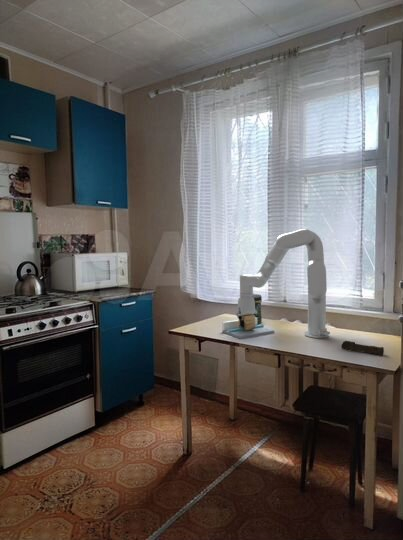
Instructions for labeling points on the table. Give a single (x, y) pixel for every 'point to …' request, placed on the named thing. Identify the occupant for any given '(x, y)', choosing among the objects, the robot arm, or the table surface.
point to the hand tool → (362, 348)
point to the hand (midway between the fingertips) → (246, 325)
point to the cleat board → (240, 333)
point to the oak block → (248, 322)
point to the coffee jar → (258, 307)
